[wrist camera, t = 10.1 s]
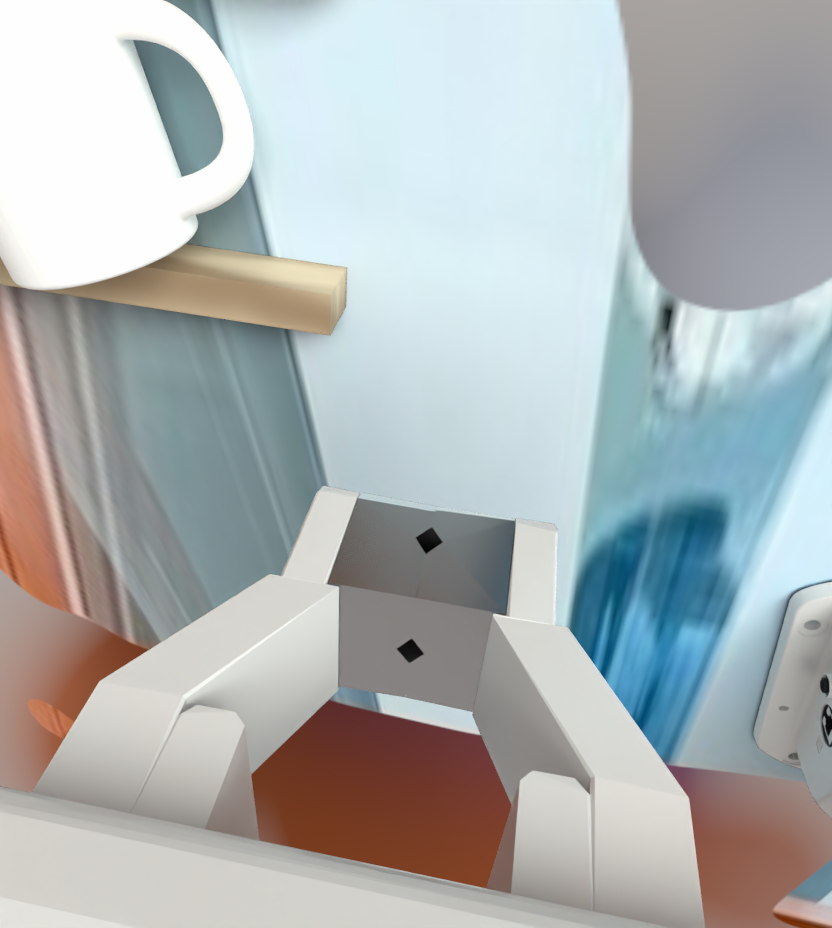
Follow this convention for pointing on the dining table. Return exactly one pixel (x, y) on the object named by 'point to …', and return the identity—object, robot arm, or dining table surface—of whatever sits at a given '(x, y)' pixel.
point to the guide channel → (228, 288)
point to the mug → (102, 140)
